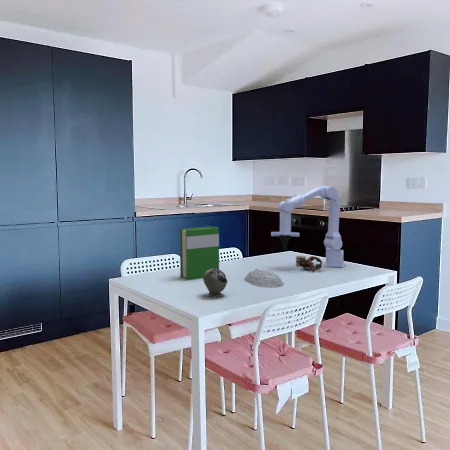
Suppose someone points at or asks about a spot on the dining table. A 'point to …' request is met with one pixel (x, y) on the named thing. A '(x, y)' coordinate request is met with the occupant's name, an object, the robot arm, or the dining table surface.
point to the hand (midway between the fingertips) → (285, 249)
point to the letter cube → (299, 259)
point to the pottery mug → (310, 263)
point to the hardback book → (198, 251)
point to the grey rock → (263, 279)
